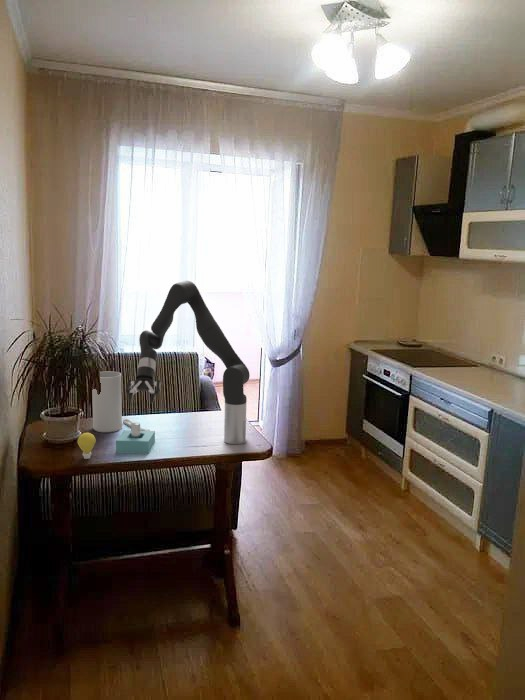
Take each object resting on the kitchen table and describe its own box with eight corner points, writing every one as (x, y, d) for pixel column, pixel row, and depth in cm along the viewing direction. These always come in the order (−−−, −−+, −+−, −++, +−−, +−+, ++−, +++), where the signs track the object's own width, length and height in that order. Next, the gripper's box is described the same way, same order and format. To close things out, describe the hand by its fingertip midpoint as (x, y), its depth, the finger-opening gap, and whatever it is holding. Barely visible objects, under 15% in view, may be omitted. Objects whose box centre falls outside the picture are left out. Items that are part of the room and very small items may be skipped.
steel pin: (141, 445, 232) (141, 422, 231) (139, 448, 229) (139, 425, 227) (132, 445, 232) (132, 422, 231) (130, 448, 229) (130, 425, 227)
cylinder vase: (122, 423, 261) (121, 371, 256) (122, 432, 249) (121, 377, 244) (93, 425, 258) (92, 371, 253) (92, 433, 246) (91, 378, 241)
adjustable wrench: (122, 423, 264) (121, 419, 263) (135, 421, 267) (135, 417, 267) (139, 438, 242) (139, 434, 242) (153, 436, 246) (153, 432, 245)
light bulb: (96, 460, 216) (95, 435, 214) (77, 461, 214) (76, 436, 212) (96, 454, 222) (95, 429, 220) (78, 455, 220) (77, 430, 218)
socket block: (154, 442, 237) (154, 431, 236) (148, 453, 224) (148, 441, 223) (124, 441, 237) (123, 430, 236) (116, 452, 224) (115, 440, 223)
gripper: (128, 365, 244) (122, 397, 235) (161, 365, 244) (156, 398, 235) (131, 374, 250) (125, 406, 241) (163, 375, 250) (159, 407, 241)
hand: (141, 402), depth 238 cm, fingers open, 8 cm apart
